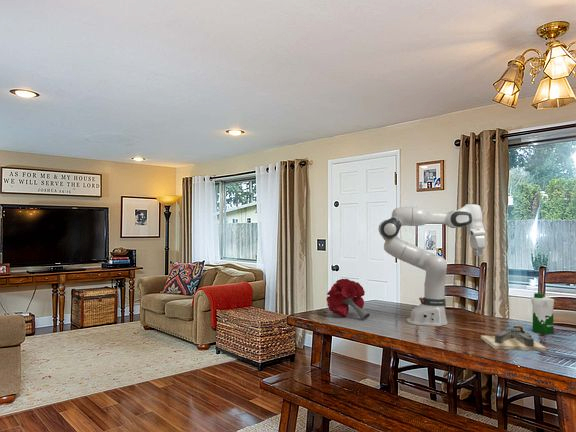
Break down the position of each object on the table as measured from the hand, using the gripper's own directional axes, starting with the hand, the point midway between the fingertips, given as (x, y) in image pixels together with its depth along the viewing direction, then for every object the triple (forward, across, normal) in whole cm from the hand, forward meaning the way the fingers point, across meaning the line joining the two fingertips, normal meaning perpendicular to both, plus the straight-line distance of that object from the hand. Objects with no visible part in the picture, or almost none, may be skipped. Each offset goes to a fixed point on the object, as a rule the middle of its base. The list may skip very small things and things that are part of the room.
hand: (478, 256), depth 236 cm
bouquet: (+31, -2, -77) cm, 83 cm away
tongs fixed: (+38, +41, +5) cm, 56 cm away
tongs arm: (+37, +40, -2) cm, 54 cm away
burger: (+40, +23, +9) cm, 47 cm away
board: (+39, +41, +2) cm, 56 cm away
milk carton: (+42, +11, +25) cm, 50 cm away
